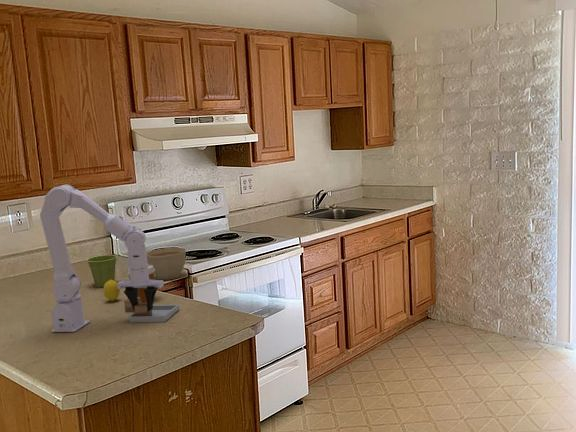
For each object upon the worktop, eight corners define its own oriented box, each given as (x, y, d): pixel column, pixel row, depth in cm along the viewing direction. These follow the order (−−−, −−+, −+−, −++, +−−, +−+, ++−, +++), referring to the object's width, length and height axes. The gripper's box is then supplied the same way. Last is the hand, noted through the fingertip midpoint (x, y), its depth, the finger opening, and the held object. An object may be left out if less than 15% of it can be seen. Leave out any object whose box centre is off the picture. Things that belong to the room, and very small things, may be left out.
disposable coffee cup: (163, 297, 206) (159, 264, 205) (148, 304, 197) (145, 270, 196) (140, 296, 209) (136, 264, 208) (125, 304, 200) (121, 270, 199)
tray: (165, 322, 177) (164, 316, 176) (129, 322, 179) (128, 317, 179) (179, 310, 188) (178, 304, 188) (144, 310, 191) (144, 305, 190)
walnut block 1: (136, 312, 190) (135, 300, 190) (125, 312, 191) (124, 300, 190) (141, 308, 194) (140, 297, 193) (130, 308, 195) (129, 297, 194)
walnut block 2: (147, 318, 179) (146, 306, 179) (135, 318, 180) (134, 306, 180) (152, 314, 183) (151, 302, 183) (140, 314, 184) (139, 302, 183)
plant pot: (83, 289, 227) (79, 261, 225) (101, 281, 238) (98, 254, 236) (108, 289, 223) (105, 261, 221) (126, 281, 234) (123, 254, 233)
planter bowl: (140, 279, 236) (138, 253, 235) (174, 271, 247) (171, 246, 246) (162, 284, 225) (159, 257, 223) (196, 275, 236) (193, 249, 234)
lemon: (116, 303, 202) (113, 281, 201) (101, 303, 203) (99, 281, 202) (123, 298, 207) (121, 277, 206) (109, 299, 209) (107, 277, 208)
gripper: (165, 264, 182) (169, 305, 184) (122, 265, 185) (127, 306, 186) (156, 269, 175) (161, 312, 177) (112, 271, 178) (117, 313, 180)
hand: (143, 309), depth 181 cm, fingers open, 4 cm apart
